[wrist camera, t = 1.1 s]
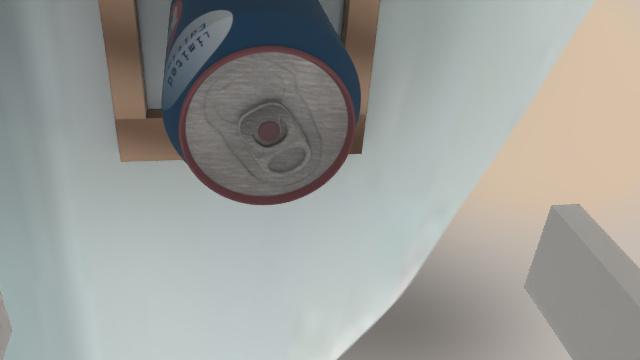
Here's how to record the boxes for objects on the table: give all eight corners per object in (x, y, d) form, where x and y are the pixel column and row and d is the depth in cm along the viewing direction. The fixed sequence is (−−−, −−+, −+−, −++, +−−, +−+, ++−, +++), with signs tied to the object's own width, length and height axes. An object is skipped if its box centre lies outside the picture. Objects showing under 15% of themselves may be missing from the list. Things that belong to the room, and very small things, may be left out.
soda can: (140, -15, 27) (111, 98, 17) (273, -89, 27) (320, -14, 17) (218, 103, 31) (230, 249, 21) (336, 41, 30) (403, 164, 21)
